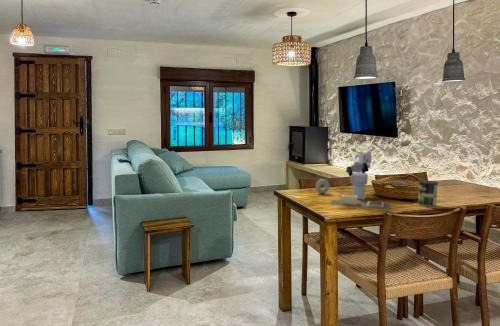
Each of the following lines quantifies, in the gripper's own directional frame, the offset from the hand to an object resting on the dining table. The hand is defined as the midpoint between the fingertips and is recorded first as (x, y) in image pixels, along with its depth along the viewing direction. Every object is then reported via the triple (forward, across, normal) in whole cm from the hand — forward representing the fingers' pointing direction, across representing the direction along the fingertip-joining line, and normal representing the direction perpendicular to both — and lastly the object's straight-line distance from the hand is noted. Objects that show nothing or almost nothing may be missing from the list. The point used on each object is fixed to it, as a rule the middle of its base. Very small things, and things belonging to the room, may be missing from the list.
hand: (356, 173), depth 248 cm
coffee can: (-11, +31, +34) cm, 47 cm away
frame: (+3, +5, +21) cm, 22 cm away
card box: (+4, -9, +16) cm, 19 cm away
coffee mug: (-27, +12, +33) cm, 44 cm away
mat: (+4, -3, +18) cm, 19 cm away
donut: (-21, -31, +17) cm, 41 cm away
